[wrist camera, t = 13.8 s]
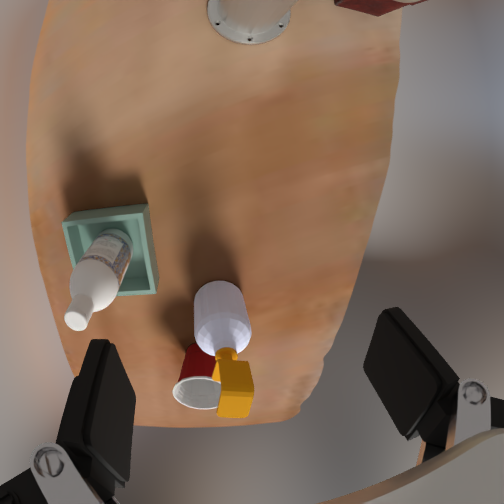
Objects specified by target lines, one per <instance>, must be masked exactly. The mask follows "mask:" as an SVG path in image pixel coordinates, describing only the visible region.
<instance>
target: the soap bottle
mask: <svg viewBox="0 0 504 504" xmlns="http://www.w3.org/2000/svg"><path fill="white" fill-rule="evenodd" d="M194 335H195V339H196V342H197V344H198V345H199V347H200V348H201V349H202V350H203V351H204V352H206V353H207V354H209V355H212V356H215V360H216V364H215V367H214V371H213V374H212V379H213V380H214V381H217V382H221V392H220V398H219V403H218V407H217V415H218V416H220V417H228V418H244V417H247V416H248V414H249V411H250V407H251V404H252V400H253V396H254V384H253V379H252V375H251V371H250V366H249V363H248V361H237V357H238V355H237V353H239V352H241V351H242V350H243V349H244V348H245V347H246V346H247V345H248V343H249V340H250V337H251V326H250V322H249V318H248V314H247V310H246V306H245V302H244V298H243V295H242V293H241V291H240V290H239V288H237V287H236V286H235V285H234V284H232V283H229V282H226V281H213V282H209V283H207V284H205V285H204V286H202V287H201V288H200V289H199V290H198V292H197V293H196V295H195V299H194Z"/></svg>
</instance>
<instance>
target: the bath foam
mask: <svg viewBox="0 0 504 504" xmlns="http://www.w3.org/2000/svg"><path fill="white" fill-rule="evenodd" d="M132 255H133V244H132V241H131V239H130V238H129V237H128V235H126V234H125V233H124V232H123V231H121V230H118V229H113V228H112V229H106V230H104V231H102V232H101V233H100V234H99V235H98V236H97V237H96V239H95V240H94V241H93V243H92V244H91V245H90V247H89V248H88V249H87V251H86V252H85V254H84V255H83V256H82V258H81V259H80V261H79V262H78V263H77V265H76V266H75V268H74V270H73V272H72V274H71V278H70V293H71V297H72V299H73V300H72V302H71V303H70V305H69V307H68V309H67V311H66V313H65V316H64V319H65V322H66V324H67V325H68V326H69V327H70V328H71V329H73V330H76V331H82V330H84V329H85V328H86V327H87V324H88V321H89V319H90V317H91V315H92V313H93V312H96V311H99V310H102V309H104V308H106V307H107V306H108V305H109V304H110V303H111V302H112V301H113V300H114V298H115V297H116V295H117V293H118V290H119V288H120V285H121V283H122V280H123V278H124V275H125V273H126V270H127V268H128V265H129V263H130V260H131V258H132Z"/></svg>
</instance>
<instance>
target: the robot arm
mask: <svg viewBox="0 0 504 504" xmlns="http://www.w3.org/2000/svg"><path fill="white" fill-rule="evenodd" d="M297 1H298V0H209V2H208V7H207V14H208V19H209V21H210V23H211V25H212V27H213V28H214V29H215V30H216V31H217V32H218V33H219V34H220V35H221V36H223V37H224V38H226V39H228V40H230V41H233V42H236V43H240V44H248V45H254V44H261V43H265V42H268V41H270V40H273V39H274V38H276V37H277V36H279V35H280V34H281V33H282V32H283V31H284V30H285V28H286V27H287V25H288V23H289V20H290V15H291V14H290V9H291V7H292V6H293V5H294V4H295V3H296V2H297ZM394 1H398V2H402V3H413V2H417V1H420V0H394ZM217 23H218V24H219V25H216V24H217ZM279 26H281V28H280V27H279ZM248 39H251V41H248ZM363 368H364V371H365V373H366V375H367V377H368V378H369V380H370V382H371V383H372V385H373V387H374V389H375V390H376V392H377V394H378V396H379V397H380V399H381V401H382V403H383V404H384V406H385V408H386V410H387V411H388V413H389V415H390V416H391V418H392V420H393V422H394V424H395V425H396V427H397V429H398V431H399V432H400V434H401V435H402V436H405V437H406V439H407V440H408V441H409V440H411V439H413V438H415V437H417V436H419V435H420V436H421V438H422V443H421V447H420V452H419V456H418V460H417V464H416V467H414V468H412V469H410V470H407V471H405V472H403V473H401V474H399V475H396V476H394V477H392V478H390V479H387V480H385V481H383V482H380V483H378V484H375V485H372V486H370V487H367V488H365V489H362V490H359V491H356V492H353V493H350V494H347V495H345V496H341V497H338V498H335V499H332V500H328V501H325V502H321V503H317V504H504V400H502V399H498V398H493V397H490V393H489V390H488V388H487V387H486V385H485V384H483V383H482V382H481V381H479V380H476V379H471V378H469V379H465V380H464V381H462V382H461V384H459V383H458V380H459V379H460V378H459V377H458V376H457V375H456V373H455V372H454V371H453V370H452V368H451V367H450V366H449V365H448V364H447V362H446V361H445V360H444V359H443V357H442V356H441V355H440V354H439V353H438V351H437V350H436V349H435V348H434V347H433V346H432V344H431V343H430V342H429V341H428V340H427V338H426V337H425V336H424V335H423V334H422V333H421V331H420V330H419V329H418V328H417V327H416V326H415V325H414V323H413V322H412V321H411V320H410V319H409V318H408V317H407V316H406V314H405V313H404V312H403V311H402V310H401V309H400V308H399V307H394V308H389V309H385V310H383V311H382V313H381V314H380V315H379V317H378V320H377V323H376V327H375V330H374V333H373V336H372V340H371V343H370V346H369V349H368V352H367V355H366V358H365V361H364V366H363ZM135 404H136V396H135V392H134V390H133V387H132V385H131V383H130V381H129V378H128V376H127V374H126V372H125V369H124V367H123V364H122V362H121V359H120V357H119V355H118V352H117V349H116V347H115V345H114V344H113V343H110V342H109V340H108V339H92V340H91V341H90V344H89V347H88V349H87V352H86V355H85V358H84V361H83V364H82V367H81V370H80V373H79V376H76V377H75V378H74V380H73V382H72V385H71V389H70V392H69V395H68V399H67V402H66V405H65V409H64V413H63V416H62V420H61V424H60V428H59V432H58V436H57V440H56V444H55V443H43V444H40V445H39V446H38V447H36V448H35V449H34V451H33V452H32V454H31V457H30V468H29V469H27V470H26V471H24V472H22V473H21V474H19V475H17V476H16V477H14V478H13V479H11V480H9V481H8V482H6V483H4V484H2V485H1V486H0V504H119V502H118V501H117V500H116V499H115V498H114V491H115V487H119V488H125V481H129V477H130V460H131V446H132V434H133V423H134V413H135Z"/></svg>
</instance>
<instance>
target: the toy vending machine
mask: <svg viewBox="0 0 504 504" xmlns="http://www.w3.org/2000/svg"><path fill="white" fill-rule="evenodd" d="M424 1H427V0H420V1H417V2H413V3H402V2H398V1H394V0H334V3H335V5H336V6H340V7H344V8H348V9H352V10H356V11H360V12H364V13H368V14H371V15H374V16H381V15H383V14H386V13H388V12H391V11H393V10H396V9H399V8H401V7H404V6H407V5H409V4H410V5H415V4H418V3H421V2H424Z"/></svg>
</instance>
